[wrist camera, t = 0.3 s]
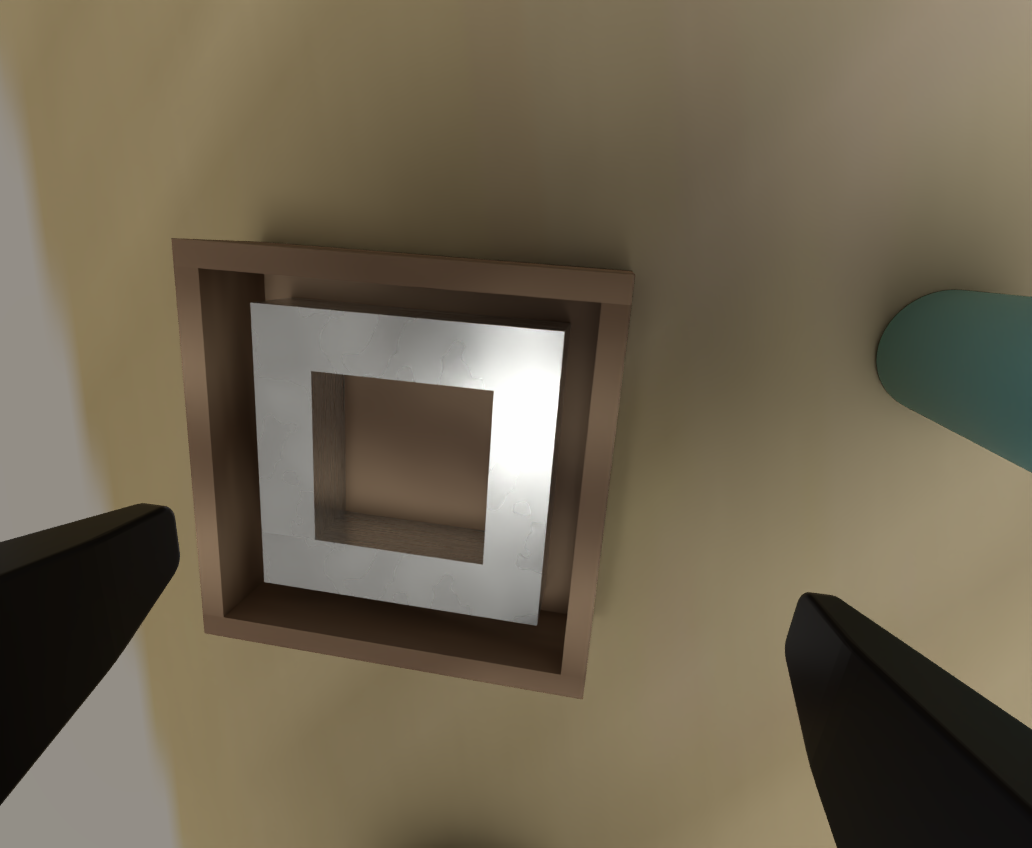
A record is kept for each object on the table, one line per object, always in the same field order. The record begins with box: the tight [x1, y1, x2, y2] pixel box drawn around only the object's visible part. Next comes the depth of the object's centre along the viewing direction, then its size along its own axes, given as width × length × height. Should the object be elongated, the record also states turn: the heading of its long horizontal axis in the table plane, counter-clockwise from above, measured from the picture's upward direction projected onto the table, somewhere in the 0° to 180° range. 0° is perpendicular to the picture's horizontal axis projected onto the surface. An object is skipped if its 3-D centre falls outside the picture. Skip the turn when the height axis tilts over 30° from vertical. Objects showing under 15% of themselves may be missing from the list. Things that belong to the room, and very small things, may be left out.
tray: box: [172, 238, 635, 699], centre depth 21 cm, size 14×14×4 cm
